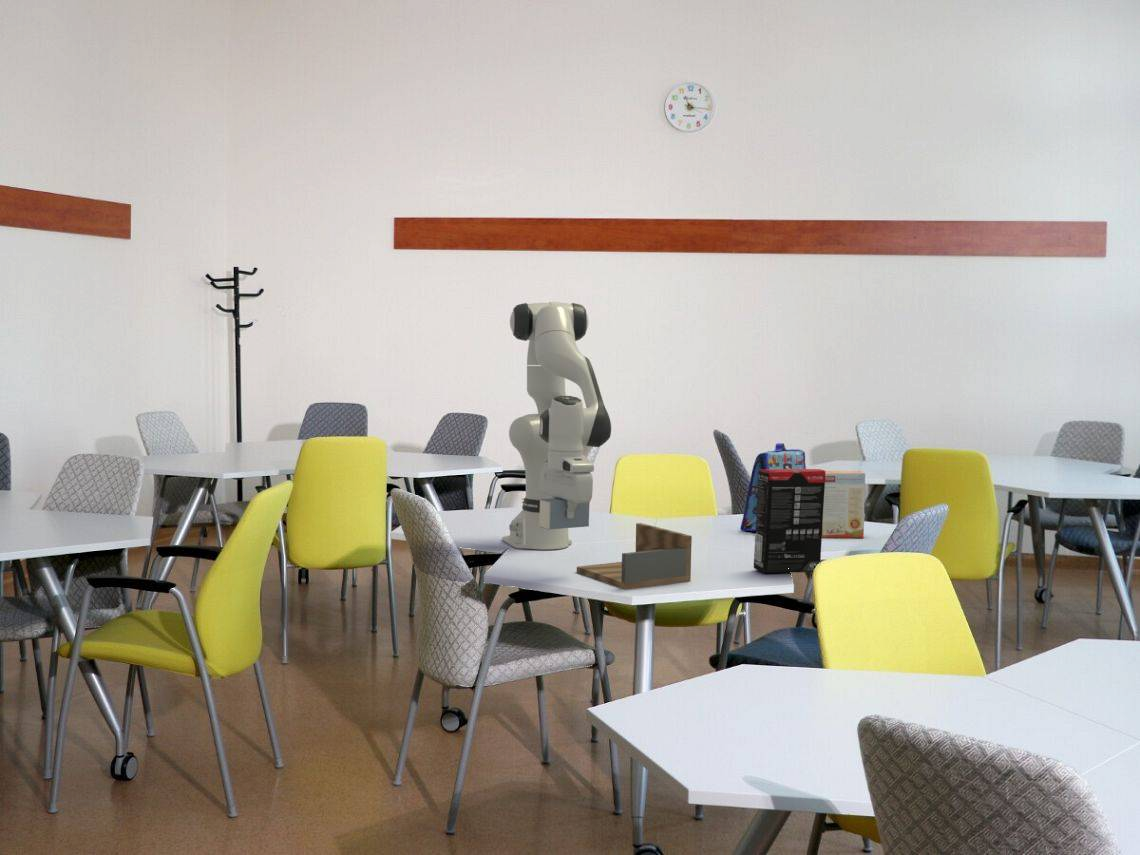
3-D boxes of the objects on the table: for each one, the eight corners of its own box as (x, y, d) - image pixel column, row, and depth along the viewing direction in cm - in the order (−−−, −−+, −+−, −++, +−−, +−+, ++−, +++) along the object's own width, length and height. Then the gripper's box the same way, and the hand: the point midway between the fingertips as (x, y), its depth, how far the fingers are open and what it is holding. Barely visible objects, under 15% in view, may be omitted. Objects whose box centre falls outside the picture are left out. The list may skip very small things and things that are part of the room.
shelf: (576, 572, 271) (577, 528, 270) (639, 565, 281) (640, 523, 280) (624, 589, 252) (625, 542, 251) (690, 581, 262) (691, 535, 262)
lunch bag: (772, 536, 330) (775, 445, 328) (739, 530, 341) (741, 442, 339) (813, 530, 345) (816, 443, 343) (780, 524, 355) (783, 440, 353)
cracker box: (858, 535, 336) (860, 470, 334) (863, 538, 330) (866, 472, 328) (814, 534, 335) (817, 470, 334) (819, 538, 329) (822, 472, 328)
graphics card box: (809, 567, 283) (813, 467, 281) (823, 572, 276) (826, 470, 274) (752, 570, 278) (755, 468, 276) (765, 575, 271) (768, 471, 269)
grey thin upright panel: (621, 581, 253) (622, 553, 253) (682, 574, 263) (682, 547, 262) (624, 583, 252) (625, 554, 251) (685, 575, 261) (686, 548, 261)
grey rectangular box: (539, 526, 261) (540, 499, 260) (580, 523, 267) (581, 496, 266) (547, 529, 257) (548, 501, 257) (588, 526, 264) (589, 498, 263)
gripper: (534, 457, 268) (532, 510, 269) (575, 466, 251) (574, 523, 252) (555, 456, 271) (553, 509, 272) (598, 465, 254) (596, 522, 255)
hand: (563, 516), depth 262 cm, fingers closed on grey rectangular box, 4 cm apart
